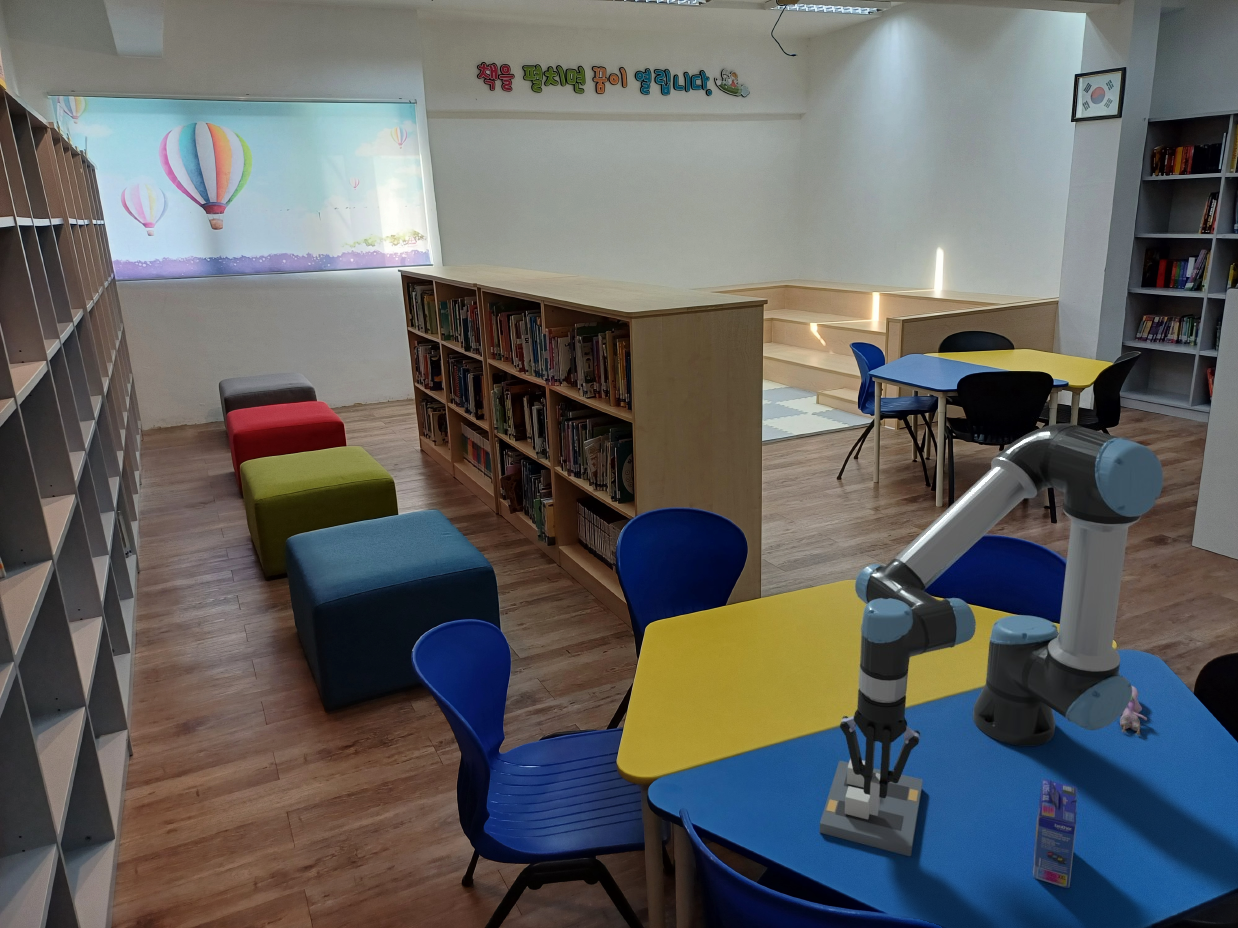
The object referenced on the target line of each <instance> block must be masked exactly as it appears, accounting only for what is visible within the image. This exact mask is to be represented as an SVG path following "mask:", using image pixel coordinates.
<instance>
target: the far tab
mask: <svg viewBox="0 0 1238 928" xmlns="http://www.w3.org/2000/svg"><path fill="white" fill-rule="evenodd" d="M862 762H863V764H864V765H865V760H863V759H862ZM848 763H849V764H848V770H847V784H850V785H855V786H859V787H863V788H864V777H863V776H862V775H860V774H859V775H856V774H855V773H854V772H853V767H852V763H851V758H850V759H849V761H848Z"/></svg>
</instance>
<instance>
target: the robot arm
mask: <svg viewBox="0 0 1238 928" xmlns="http://www.w3.org/2000/svg"><path fill="white" fill-rule="evenodd" d="M990 465H991V466H990V467H991V469H990V470H988V471H987V472H986V473H985V474H983V476H981V478H980V479H978V480H977V481H976V482H975V483H974V484H973V485H972V486H971V487H970V488H969V489H967V490H966V491H965V493H963V494H962V495H961V496H960V497H959V498H958V499H957V500H956V501H955V502H953V503H952V504H951V505H950V506H949V507H948V508H947V509H946V510H944V512H943V513H942V514H940V516H938V517H937V518H936V519H934V521H933V522H932V523H930V525H928V527H926V528H925V529H924V530H923V531H922V532H921V533H919V535H917V536H916V538H914V539H913V540H912V541H911V542H910V543H909V544H908V545H907V546H906V547H904V549H902V550H901V551H900V552H899V553H898V554H897V555H896V556H894V558H893V559H892V560H891V561H889V563H888V564H886V565H883V564H880V563H873V564H870V565H867V566H865V567H863V568H862V570H860V572H859V573H858V575H857V576H856V579H855V582H854V588H855V589H854V590H855V594H856V595H857V597H858V598H859V600H860V601H862V602H863V603H864V604H865V607H864V609H863V614H862V621H861V625H860V626H861V627H860V632H861V634H860V635H861V636H860V660H859V662H860V663H859V669H858V670H859V671H858V672H859V673H858V689H857V690H858V692H857V705H856V707H857V709H856V710H855V712H854V714H853V715H852V716H847V715H843V716H842V719H841V721H840V725H839V728H840V730H841V731H842V733H843V735H844V736H845V740H846V744H847V749H848V754H849V757H850V758H851V763H852V767H853V772H854V773H855V774H856V775H859V774H860V775H862V776H863V777H864V794H868V795H870V801H869V814H872V815H876V816H878V812H879V807H880V797H881V798H886V796H887V791H888V783H889V782H893V783H898V782H899V779H900V777H901V775H903V772H904V769H905V767H906V764H907V763H908V759H909V756H910V754H911V752H912V750H913V749H914V748H915V747H917V746H918V745H919V743H920V737H921V732H920V731H919V730H916V729H914V730H913V729H912V728H910V727H909V726H908V722H907V719H906V718H905V716H906V703H907V702H906V701H907V695H906V694H907V691H908V689H907V688H908V677H909V676H908V675H909V668H910V667H909V665H910V658H911V657H916V656H919V655H922V654H923V655H924V654H926V653H931V652H934V651H940V650H944V649H948V648H950V649H951V648H955V646H957V645H960V644H964V643H966V642H969V641H970V640H972V639H973V637H974V635H975V633H976V626H977V624H976V623H977V622H976V616H975V614H974V612H973V610H972V608H971V606H970V605H969V604H968V603H967V602H966V601H965V600H963V599H961V598H959V597H958V598H956V597H952V598H943V599H942V600H940V599H937V598H936V597H934V596H933V595H931V594H929V593H927V592H926V589H927V588H928V587H929V586H931V584H933V583H934V582H935V581H936V580H937V579H938V578H940V577H941V576H942V575H943V574H944V573H945V572H946V571H947V570H948V569H949V568H950V567H951V566H952V565H953V564H954V563H956V561H957V560H959V559H960V558H961V557H962V556H963V555H965V553H966V552H968V551H969V550H970V548H972V547H973V546H974V545H975V544H976V543H977V542H978V541H979V540H981V539H982V538H983V537H984V536H985V535H986V534H987V533H989V531H990V530H992V528H994V527H995V526H996V525H997V524H998V523H999V522H1000V521H1001V520H1002V519H1003V518H1004V517H1006V516H1007V514H1009V512H1010V511H1012V510H1013V509H1014V508H1015V507H1016V506H1017V505H1018V504H1020V502H1022V501H1023V500H1024V499H1033V498H1035V497H1036V496H1037V495H1038V494H1039V493H1040V492H1041V491H1043V490H1045V489H1049V488H1054V489H1056V490H1058V491H1060V492H1062V493H1063V502H1062V512H1063V513H1064V514H1065V515H1066V516H1067V517H1068V518H1069V519H1070V520H1071V521H1070V529H1069V539H1068V547H1067V556H1066V565H1065V573H1064V574H1065V575H1064V583H1063V594H1062V603H1061V611H1060V620H1059V629H1058V627H1057V625H1056V624H1055V623H1054V622H1052V621H1050V620H1048V619H1046V618H1043V617H1038V616H1033V615H1026V614H1025V615H1024V614H1023V615H1022V614H1018V615H1017V614H1014V615H1007V616H1004V617H1001V618H999V619H998V620H996V621H995V622H994V623H993V625H992V628H991V633H990V637H989V644H988V656H987V657H988V659H987V666H986V679H985V684H984V686H983V688H982V689H981V692H980V693H979V695H978V697H977V699H976V700H975V703H974V706H973V713H972V719H973V722H974V724H975V725H976V727H977V728H978V729H979V730H980V731H982V732H983V733H984V734H985V735H987V736H989V737H990V738H993V739H994V740H997V741H999V742H1002V743H1005V744H1009V745H1014V746H1019V747H1034V746H1035V747H1036V746H1040V745H1044V744H1045V743H1048V742H1049V741H1051V740H1052V739H1053V737H1054V735H1055V728H1056V719H1055V715H1054V712H1057V713H1058V714H1059V715H1061V716H1062V717H1063V718H1065V719H1066V720H1067V721H1068V722H1069V723H1070V722H1071V723H1074V724H1075V725H1076V726H1078V727H1080V728H1082V729H1084V730H1089V731H1097V730H1098V731H1099V730H1100V729H1103V728H1106V727H1108V726H1110V725H1111V724H1112V723H1113V722H1115V721H1116V720H1117V719H1118V718H1119V717H1121V716H1122V713H1123V712H1124V710H1125V709H1126V708H1127V706H1128V704H1129V702H1130V700H1131V696H1132V686H1133V685H1132V684H1131V682H1129V680H1128V678H1127V677H1126V676H1123V675H1120V665H1121V656H1120V652H1118V651H1117V650H1116V649H1115V648H1114V647H1113V644H1114V635H1115V628H1116V622H1117V614H1118V607H1119V598H1120V592H1121V586H1122V585H1121V584H1122V578H1123V568H1124V561H1125V554H1126V546H1127V540H1128V534H1129V533H1128V531H1129V527H1130V526H1133V525H1134V524H1135V523H1138V522H1139V521H1140V519H1141V516H1142V515H1144V514H1146V513H1147V512H1149V511H1150V510H1151V509H1152V508H1153V507H1154V506H1155V505H1156V499H1158V498H1160V495H1161V492H1162V489H1163V485H1164V470H1163V466H1162V463H1161V461H1160V459H1159V457H1158V456H1157V454H1155V453H1154V451H1153V450H1152V449H1151V448H1149V447H1148V446H1146V445H1143V444H1142V443H1141V444H1140V443H1138V442H1136V441H1133V440H1131V439H1129V438H1126V437H1119V436H1115V435H1111V434H1108V433H1105V432H1101V431H1098V430H1094V429H1090V428H1087V427H1084V426H1082V425H1078V424H1074V423H1055V424H1050V425H1045V426H1043V427H1040V428H1038V429H1036V430H1035V429H1034V430H1033V431H1031V432H1028V433H1027V434H1025V435H1023V436H1022V437H1020V438H1018V439H1015V440H1014V441H1013V442H1012V443H1010V444H1009V445H1008V446H1006V447H1004V449H1003V450H1001V451H1000V452H999V453H998V454H997V455H996V456H995V457H993V459H991V462H990ZM1058 630H1059V631H1058ZM1053 711H1054V712H1053ZM856 727H857V728H858V729H859V730H860V732H861V733H862V735H863V736H864V737H865V757H864V761H865V765H864V764H863V762H862V760H863V758H862V753H861V750H860V744H859V740H858V735H857V731H856ZM902 735H903V745H902V747H901V749H900V751H899V755H898V757H897V759H896V763H895V764H894V767H893V770H890V767H891V766H890V765H891V764H890V763H891V749H892V743H894V742H895V741H896V740H897V739H899V738H900V737H901V736H902ZM876 742H879V743H881V755H880V756H881V757H880V769H879V770H880V774H878V773H874V772H873V769H875V767H874V765H875V751H876Z"/></svg>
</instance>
